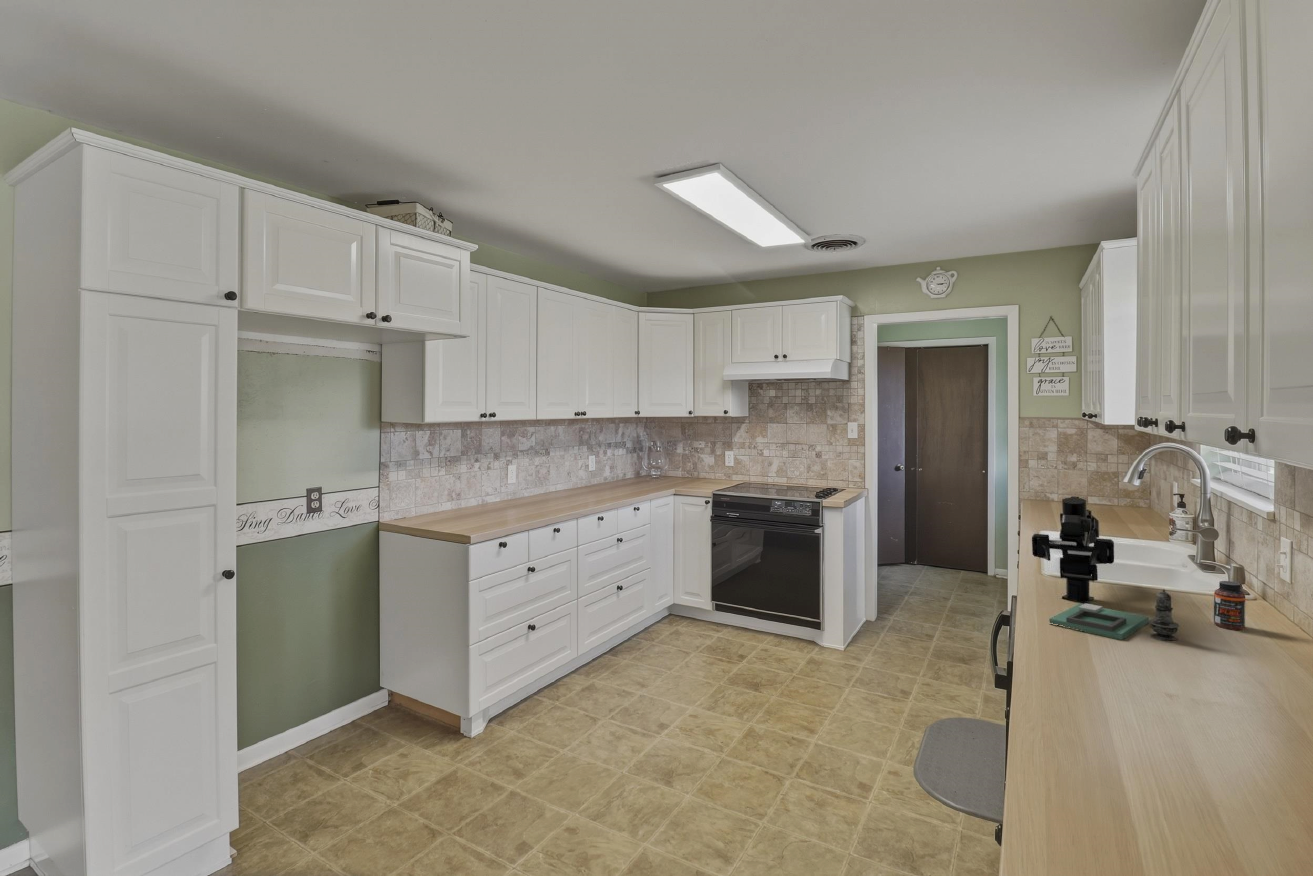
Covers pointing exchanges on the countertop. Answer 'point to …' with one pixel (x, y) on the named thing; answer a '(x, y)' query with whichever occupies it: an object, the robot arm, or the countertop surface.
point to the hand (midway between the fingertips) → (1069, 560)
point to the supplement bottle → (1229, 606)
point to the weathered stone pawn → (1163, 619)
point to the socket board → (1100, 620)
